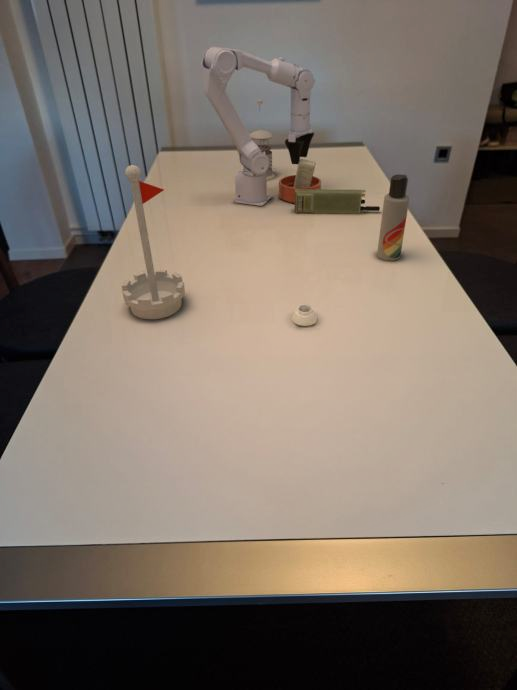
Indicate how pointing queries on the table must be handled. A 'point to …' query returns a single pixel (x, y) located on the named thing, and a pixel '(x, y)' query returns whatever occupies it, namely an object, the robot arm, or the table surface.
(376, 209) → the handheld radio
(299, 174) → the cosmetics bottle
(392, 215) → the lotion bottle
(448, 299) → the table surface
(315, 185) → the bowl
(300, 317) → the white jar
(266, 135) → the weather station
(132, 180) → the flag stand
